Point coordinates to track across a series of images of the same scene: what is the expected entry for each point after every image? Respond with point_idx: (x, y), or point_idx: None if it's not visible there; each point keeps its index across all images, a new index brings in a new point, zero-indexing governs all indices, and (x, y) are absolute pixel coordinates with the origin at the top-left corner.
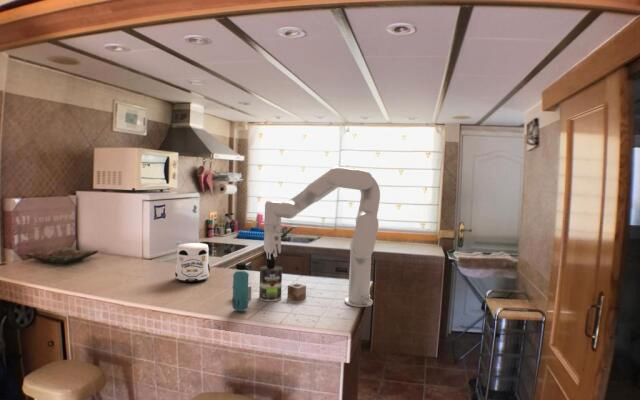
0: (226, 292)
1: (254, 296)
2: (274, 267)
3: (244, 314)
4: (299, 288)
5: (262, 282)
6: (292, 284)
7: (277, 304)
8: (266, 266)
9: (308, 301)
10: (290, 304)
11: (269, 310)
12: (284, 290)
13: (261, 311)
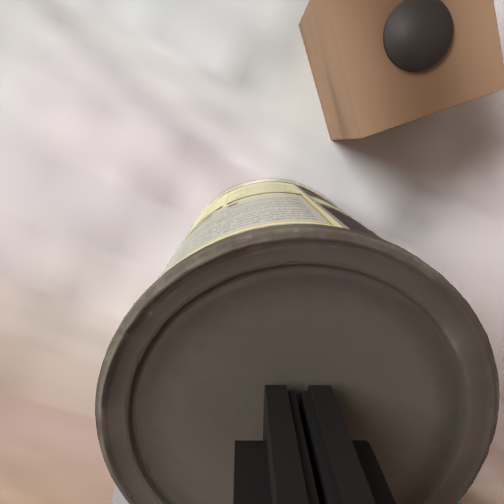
0: (37, 483)
1: None
2: (277, 355)
3: (472, 500)
4: (494, 50)
5: None
6: (349, 65)
7: None
8: (149, 444)
9: (496, 4)
10: (475, 187)
11: (496, 364)
12: (123, 64)
13: None
